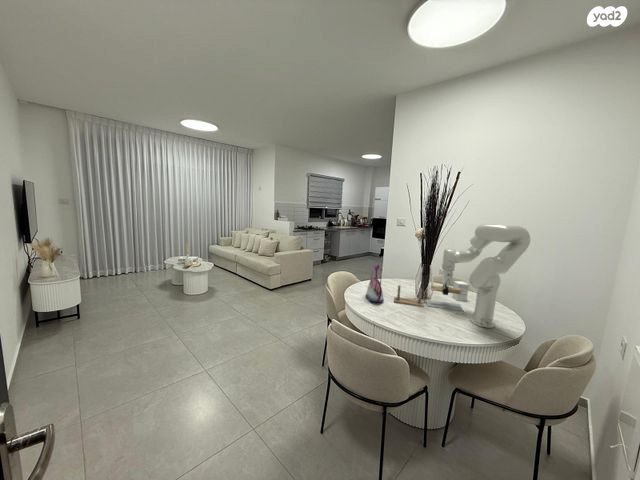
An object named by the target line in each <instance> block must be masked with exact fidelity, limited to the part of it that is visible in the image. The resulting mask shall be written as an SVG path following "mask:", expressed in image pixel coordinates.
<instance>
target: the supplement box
mask: <svg viewBox="0 0 640 480" xmlns="http://www.w3.org/2000/svg"><path fill="white" fill-rule="evenodd" d="M469 284H470V283H467V282H466V281H462V280H461V281H460V280H459V281H458V280H453V287H452V288H459V289H461V293H460V294H454V293H452V295H451V296H452V298H453V299H455V300H456V301H457V302H458V301H459V302H467V301H468V293H469V286H470V285H469Z"/></svg>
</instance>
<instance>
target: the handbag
mask: <svg viewBox="0 0 640 480" xmlns="http://www.w3.org/2000/svg"><path fill="white" fill-rule="evenodd" d="M372 267H373V268H374V271H375V277H373V275H371V277H370V278H371V279H370V280H369V284H368V286H367V289H366V292H365V293H366V294H365V298H366V299H367V300H368V301H369V303H377V302H378V303H384V302H385V300H384V293H383V292H384V291H383V289H382V277H379V278H380V279H378V270H379V268H380V269H382V266H381V265H380V264H377V265H376V264H373V265H372ZM374 271H373V269H372V272H371V274H373V272H374ZM379 280H380V281H379Z"/></svg>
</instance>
